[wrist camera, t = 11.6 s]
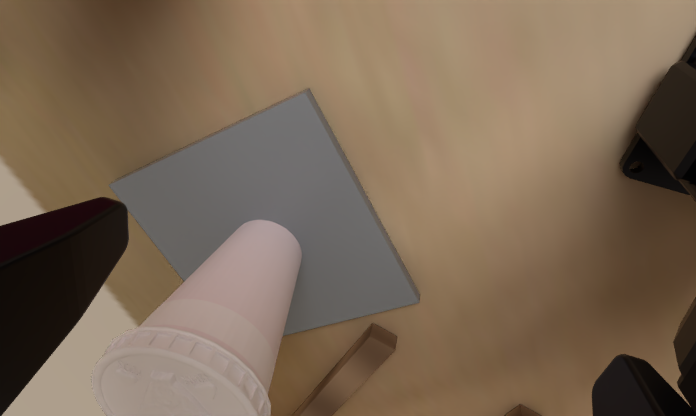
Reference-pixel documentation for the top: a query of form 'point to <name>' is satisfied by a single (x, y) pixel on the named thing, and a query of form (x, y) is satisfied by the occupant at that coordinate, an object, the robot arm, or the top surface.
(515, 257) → the top surface
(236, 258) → the smoothie
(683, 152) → the robot arm
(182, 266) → the plate
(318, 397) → the lane
